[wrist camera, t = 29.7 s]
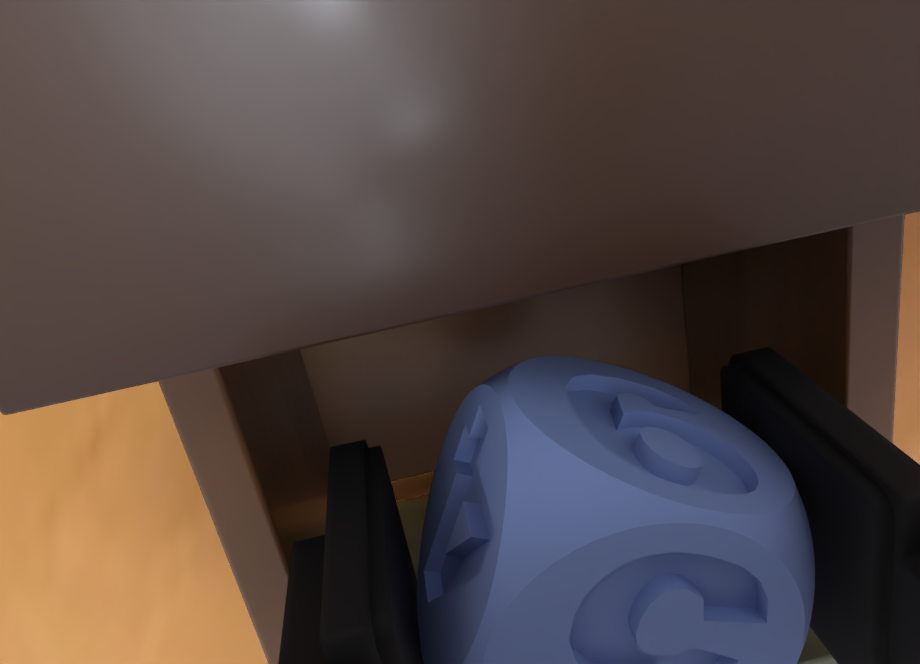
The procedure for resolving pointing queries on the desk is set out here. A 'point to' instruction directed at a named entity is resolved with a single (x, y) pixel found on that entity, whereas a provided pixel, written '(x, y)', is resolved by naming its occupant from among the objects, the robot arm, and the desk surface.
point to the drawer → (506, 344)
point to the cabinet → (409, 162)
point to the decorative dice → (609, 528)
